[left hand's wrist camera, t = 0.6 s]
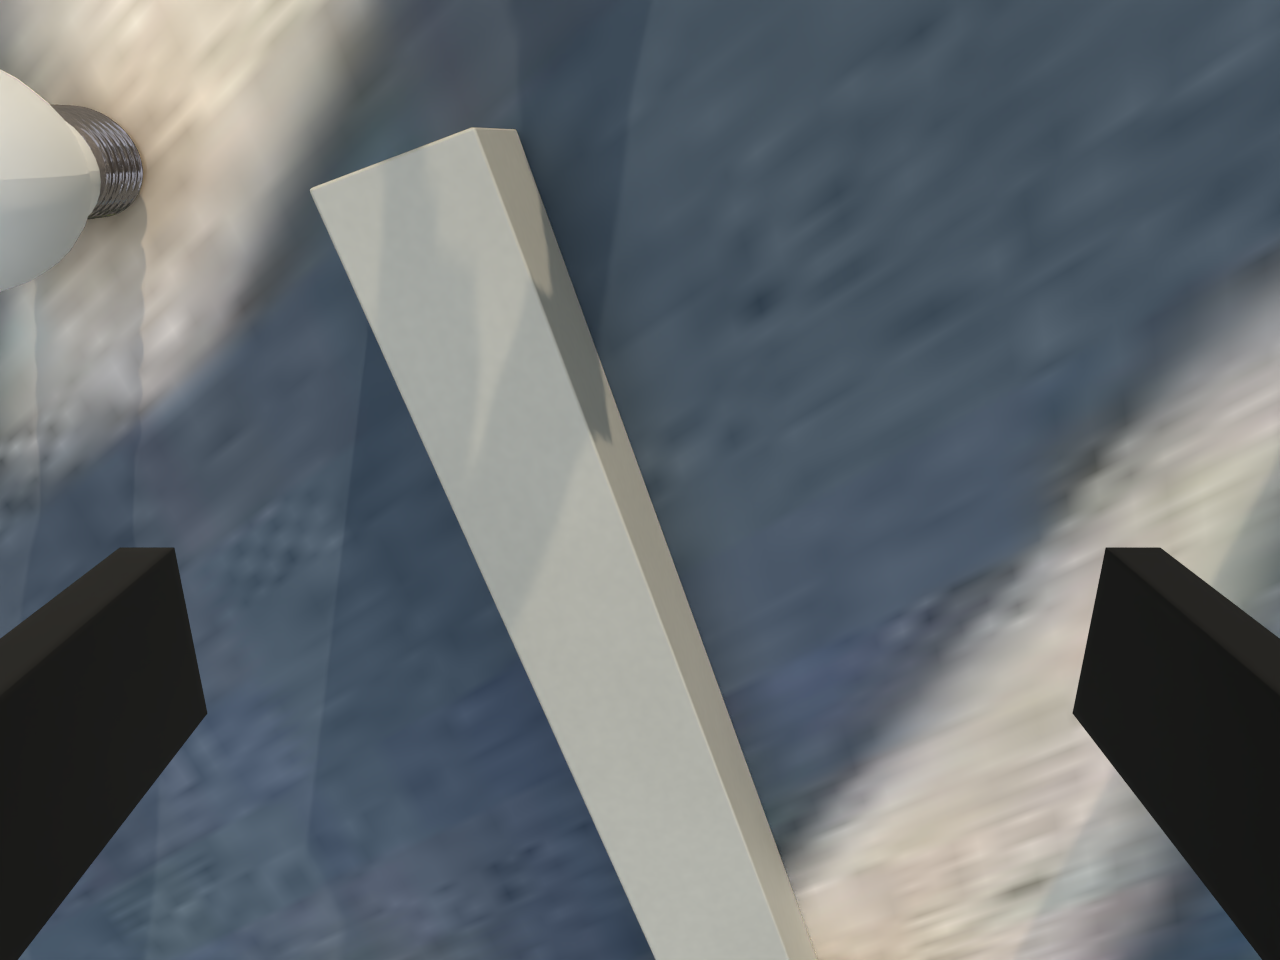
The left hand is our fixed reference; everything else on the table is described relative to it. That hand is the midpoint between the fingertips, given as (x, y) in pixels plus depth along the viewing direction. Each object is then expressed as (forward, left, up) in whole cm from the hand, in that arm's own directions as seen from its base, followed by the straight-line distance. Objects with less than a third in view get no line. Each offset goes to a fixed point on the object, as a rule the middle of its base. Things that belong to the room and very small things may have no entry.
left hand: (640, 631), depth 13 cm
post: (+10, +16, -22) cm, 29 cm away
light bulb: (+13, -16, -22) cm, 30 cm away
